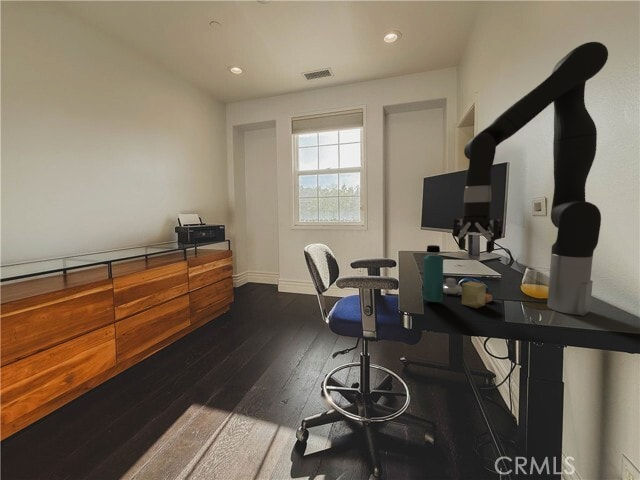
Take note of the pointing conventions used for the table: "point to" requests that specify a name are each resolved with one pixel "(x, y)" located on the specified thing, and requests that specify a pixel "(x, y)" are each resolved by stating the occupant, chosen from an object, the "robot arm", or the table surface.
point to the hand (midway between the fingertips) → (475, 251)
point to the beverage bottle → (433, 275)
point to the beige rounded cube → (473, 294)
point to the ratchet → (458, 289)
